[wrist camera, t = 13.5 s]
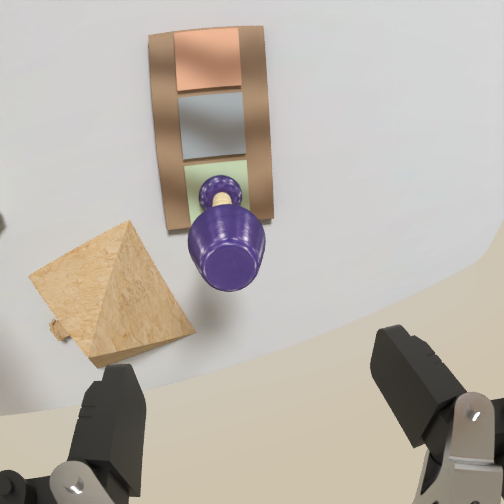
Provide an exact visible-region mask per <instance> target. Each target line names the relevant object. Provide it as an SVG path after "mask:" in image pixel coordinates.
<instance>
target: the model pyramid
mask: <svg viewBox="0 0 504 504" xmlns="http://www.w3.org/2000/svg"><path fill="white" fill-rule="evenodd" d="M28 277H29V278H30V280H31V281H32V283H33V285H34V286H35V288H36V289H37V291H38V292H39V294H40V295H41V296H42V298H43V299H44V301H45V302H46V304H47V305H48V307H49V308H50V309H51V311H52V312H53V314H54V315H55V316H56V318H57V319H58V320H57V321H56V320H55V319H53V320H52V322H51V323H50V324H49V326H50V327H51V328H50V331H51V332H52V333H53V335H54V336H55V337H56V338H57V340H58V341H60V340H61V341H64V338H65V337H67V336H71V337H72V339H73V340H74V341H75V342H76V344H77V345H78V346H79V347H80V349H81V350H82V351H83V352H84V353H85V355H86V356H87V357H88V358H89V359H90V361H91V362H92V363H93V364H94V365H95V366H96V367H97V368H100V367H103V366H106V365H109V364H112V363H115V362H118V361H120V360H123V359H126V358H129V357H132V356H134V355H137V354H140V353H143V352H145V351H148V350H151V349H154V348H156V347H159V346H162V345H164V344H167V343H170V342H172V341H175V340H178V339H180V338H183V337H185V336H188V335H190V334H193V333H196V331H195V329H194V328H193V326H192V325H191V323H190V322H189V320H188V319H187V317H186V315H185V314H184V312H183V311H182V309H181V307H180V306H179V304H178V303H177V301H176V299H175V298H174V296H173V294H172V293H171V291H170V289H169V288H168V286H167V285H166V283H165V281H164V280H163V278H162V276H161V274H160V273H159V271H158V269H157V268H156V266H155V264H154V262H153V261H152V259H151V257H150V256H149V254H148V252H147V250H146V248H145V247H144V245H143V243H142V241H141V240H140V238H139V236H138V234H137V232H136V231H135V229H134V227H133V225H132V223H131V221H130V220H128V221H126V222H124V223H122V224H120V225H118V226H116V227H114V228H112V229H110V230H109V231H107V232H105V233H103V234H101V235H99V236H97V237H95V238H94V239H92V240H90V241H88V242H86V243H84V244H83V245H81V246H79V247H77V248H75V249H74V250H72V251H70V252H68V253H67V254H65V255H63V256H61V257H60V258H58V259H56V260H54V261H53V262H51V263H49V264H48V265H46V266H44V267H42V268H41V269H39V270H37V271H36V272H34V273H32V274H31V275H29V276H28Z"/></svg>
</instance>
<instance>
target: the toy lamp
mask: <svg viewBox="0 0 504 504" xmlns="http://www.w3.org/2000/svg"><path fill="white" fill-rule="evenodd" d="M199 202H200V205H201V206H202V208H203V210H204V212H202V213H201V214H200V215H199V216H198V217H197V218H196V219H195V221H194V222H193V224H192V225H191V228H190V231H189V235H188V249H189V253H190V255H191V258H192V260H193V262H194V263H195V265H196V267H197V269H198V271H199V272H200V274H201V276H202V277H203V279H204V280H205V281H206V282H207V283H208V284H209V285H210V286H211V287H213V288H215V289H217V290H220V291H226V292H233V291H238V290H241V289H243V288H245V287H246V286H248V285H249V284H250V283H251V282H252V281H253V280H254V278H255V277H256V275H257V274H258V271H259V268H260V265H261V262H262V258H263V254H264V251H265V242H266V240H265V232H264V229H263V226H262V224H261V222H260V221H259V220H258V218H257V217H256V216H255V215H254V214H253V213H252V212H250V211H249V210H248V209H246V208H243V207H242V206H240V205H241V202H242V190H241V188H240V186H239V184H238V183H237V181H235V180H234V179H233V178H231V177H229V176H226V175H216V176H213V177H211V178H209V179H207V180H206V181H205V182H204V183H203V185H202V186H201V188H200V191H199Z"/></svg>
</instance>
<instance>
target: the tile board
mask: <svg viewBox="0 0 504 504" xmlns="http://www.w3.org/2000/svg"><path fill="white" fill-rule="evenodd" d="M148 37H149V60H150V78H151V92H152V105H153V117H154V128H155V138H156V147H157V156H158V165H159V173H160V181H161V188H162V196H163V203H164V210H165V217H166V223H167V230H173V229H181V228H189V227H191V225H192V224H193V222H194V221H195V219H196V218H197V217H198V216H199V215H200V214H201V213H202V212H204V210H203V208H202V206H201V205H200V202H199V191H200V188H201V186H202V185H203V183H204V182H205V181H206V180H207V179H209V178H211V177H213V176H216V175H226V176H229V177H231V178H233V179H234V180H235V181H237V183H238V184H239V186H240V188H241V190H242V202H241V205H240V206H242V207H243V208H246V209H248V210H249V211H250V212H252V213H253V214H254V215H255V216H256V217H257V218H258V220H263V219H273V218H274V204H273V181H272V159H271V139H270V121H269V103H268V87H267V71H266V56H265V41H264V28H263V26H231V27H213V28H201V29H191V30H182V31H174V32H166V33H159V34H153V35H148Z"/></svg>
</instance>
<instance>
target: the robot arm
mask: <svg viewBox="0 0 504 504" xmlns="http://www.w3.org/2000/svg"><path fill="white" fill-rule="evenodd" d="M370 369H371V374H372V377H373V379H374V381H375V382H376V384H377V386H378V388H379V389H380V391H381V393H382V394H383V396H384V398H385V399H386V401H387V403H388V405H389V406H390V408H391V410H392V411H393V413H394V415H395V416H396V418H397V420H398V422H399V424H400V425H401V427H402V428H403V430H404V432H405V434H406V436H407V437H408V439H409V441H410V443H411V445H412V446H413V448H416V447H418V446H420V445H423V444H426V446H427V447H428V449H427V451H426V454H425V459H424V463H423V468H422V472H421V476H420V480H419V485H418V488H417V492H416V496H415V499H414V501H413V503H412V504H500V502H501V495H502V497H503V499H504V398H501V399H495V400H489V399H488V398H487V397H486V396H485V395H483V394H480V393H477V392H467V391H466V390H465V389H464V388H463V386H462V385H461V384H460V383H459V381H458V380H457V379H456V378H455V376H454V375H453V374H452V373H451V371H450V370H449V369H448V368H447V366H446V365H445V364H444V363H442V362H441V359H440V358H439V357H438V356H437V355H435V352H434V351H433V350H432V349H431V347H430V346H429V345H428V344H427V343H426V342H424V341H422V340H421V339H420V338H418V337H416V336H415V335H414V336H410V335H409V334H408V332H407V331H406V330H405V329H404V328H403V327H402V326H401V325H395V326H390V327H386V328H382V329H379V330H378V331H377V334H376V339H375V343H374V348H373V353H372V357H371V363H370ZM81 406H82V408H81V409H80V412H79V419H78V420H77V424H76V427H75V432H74V435H73V439H72V443H71V448H70V452H69V456H68V459H67V461H66V462H64V463H62V464H60V465H58V466H57V467H56V468H55V469H54V470H53V472H52V474H51V475H50V476H46V477H39V478H33V479H24V478H23V477H22V476H21V475H20V474H18V473H17V472H15V471H12V470H4V471H1V472H0V504H128V502H129V497H140V488H141V471H142V456H143V443H144V430H145V420H146V402H145V398H144V395H143V392H142V390H141V388H140V385H139V383H138V380H137V378H136V375H135V373H134V370H133V368H132V366H131V365H130V364H118V365H107V366H106V368H105V371H104V375H103V378H102V381H94V382H93V383H92V385H91V386H90V387H89V388H88V390H87V391H86V392H85V395H84V398H83V402H82V405H81Z"/></svg>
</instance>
